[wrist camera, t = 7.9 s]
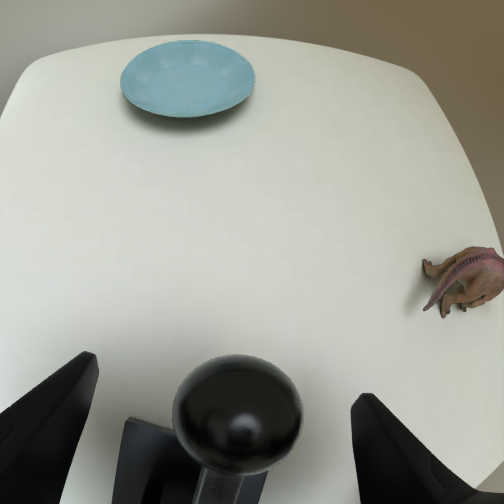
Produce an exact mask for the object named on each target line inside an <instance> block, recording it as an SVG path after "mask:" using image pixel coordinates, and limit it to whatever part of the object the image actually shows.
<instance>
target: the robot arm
mask: <svg viewBox="0 0 504 504" xmlns="http://www.w3.org/2000/svg"><path fill="white" fill-rule="evenodd" d="M98 375H99V368H98V363H97V357H96V355H95V354H93V353H90V352H87V351H84V352H82V353H80V354H79V355H78V356H76V357H75V358H74V359H72V360H71V361H69V362H68V363H67V364H65V365H64V366H63V367H61V368H60V369H59V370H57V371H56V372H55V373H53V374H52V375H51V376H49V377H48V378H47V379H45V380H44V381H43V382H41V383H40V384H39V385H37V386H36V387H35V388H33V389H32V390H31V391H29V392H28V393H27V394H25V395H24V396H23V397H21V398H20V399H19V400H17V401H16V402H15V403H13V404H12V405H11V407H8V408H7V409H5V410H4V411H3V412H1V413H0V504H59V503H60V499H61V496H62V492H63V489H64V485H65V482H66V479H67V475H68V472H69V469H70V466H71V463H72V460H73V457H74V454H75V451H76V448H77V445H78V442H79V439H80V436H81V434H82V431H83V428H84V425H85V423H86V420H87V417H88V414H89V410H90V406H91V402H92V398H93V394H94V391H95V387H96V383H97V379H98ZM351 428H352V445H353V453H354V459H355V466H356V472H357V479H358V486H359V494H360V502H361V504H504V493H492V492H482V491H478V490H476V489H474V488H472V487H471V486H469V485H468V484H467V483H466V482H464V481H463V480H462V479H461V478H459V477H458V476H457V475H456V474H454V473H453V472H452V471H451V470H450V469H448V468H447V467H446V466H445V465H444V464H443V463H442V462H441V461H440V460H439V459H438V458H437V457H436V456H435V455H434V454H432V453H431V452H430V451H429V450H428V449H427V448H426V447H425V446H424V445H423V444H422V443H421V442H420V441H419V440H418V439H417V438H416V437H415V436H414V435H413V434H412V433H411V432H410V431H409V430H408V429H407V428H406V426H405V425H404V424H403V423H402V422H401V421H400V420H399V419H398V418H397V417H396V416H395V415H394V414H393V413H392V412H391V411H390V410H389V409H388V408H387V407H386V406H385V405H384V404H383V403H382V402H381V401H380V400H379V399H378V398H377V397H376V396H375V395H374V394H372V393H362V394H361V395H360V396H359V397H358V399H357V400H356V401H355V403H354V404H353V405H352V407H351Z"/></svg>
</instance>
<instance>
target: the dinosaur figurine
mask: <svg viewBox="0 0 504 504" xmlns="http://www.w3.org/2000/svg"><path fill="white" fill-rule="evenodd" d="M423 262H424V266H425V272H426V274H427V275H429V276H430V277H438V276H439V275H441V274H443V273H444V272H446V273H445V275H444V276H443V277H442V278H441V280H440V282H439V284H438V285H437V287H436V289H435V291H434V293H433V294H432V296H431V298H430V300H429V302H428V304H427V305H426V306H425V307H424V308H423V311H426V310H428V309H429V308H430V307H432V306H433V305H434V304H435V303H436V302H437V301H438V300H439V298H440V297H441V296H442V295H443V293H444V292H445V290H447V289H448V288H449V287H450V286H451V285H452V284H453V283H454V282H455V281H457V282H458V283H459V284H460V285H461V287H459V288H457V289H456V290H455V291H453V292H450V293H445V294H444V299H443V301H442V305H441V307H442V317H443V318H445V317H446V313H447V314H449V313H450V305H451V304H453V303H462V305H461V310H463V311H464V312H466V308H467V307H469V308H475V307H477V306H480V305H483V304H485V303H486V301H490V300H492V299H493V298H494V297H496V296H497V295H499V294H500V292H501V291H502V290H503V289H504V259H503V258H502V257H500V256H499V255H498V254H497V253H496V251H495V250H494V248H485V247H474V246H473V247H469V248H466V249H464V250H463V251H461V252H460V253H457V254H455V255H454V256H453V257H450V258H448V259H446V260H445V261H444V263H443V264H441V265H438V266H434V267H433V266H432V263H431V261H428V262H427V260H426V259H423Z"/></svg>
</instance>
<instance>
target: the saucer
mask: <svg viewBox="0 0 504 504" xmlns="http://www.w3.org/2000/svg"><path fill="white" fill-rule="evenodd" d="M120 82H121V83H120V84H121V89H122V92H123V94H124V95H125V97H126V98H127V99H128V100H129V101H130V102H131V103H132V104H134V105H136V106H137V107H139V108H141V109H143V110H146V111H148V112H151V113H155V114H158V115H163V116H168V117H179V118H190V117H200V116H206V115H210V114H214V113H218V112H221V111H224V110H227V109H229V108H231V107H233V106H235V105H237V104H239V103H240V102H242V101H243V100H244V99H245V98H246V97H247V96H248V95H249V94H250V93H251V91H252V90H253V88H254V84H255V73H254V70H253V68H252V66H251V65H250V63H249V62H248V61H247V60H246V59H245V58H244V57H243V56H242V55H240V54H239V53H237V52H236V51H234V50H233V49H230V48H228V47H225V46H223V45H220V44H216V43H212V42H207V41H198V40H183V41H182V40H181V41H173V42H168V43H164V44H160V45H157V46H154V47H152V48H149V49H147V50H145V51H144V52H142V53H140V54H139V55H137V56H136V57H135V58H134V59H132V60H131V61H130V62H129V63H128V65H127V66H126V67H125V69H124V70H123V72H122V75H121V81H120Z"/></svg>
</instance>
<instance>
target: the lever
mask: <svg viewBox="0 0 504 504" xmlns="http://www.w3.org/2000/svg"><path fill="white" fill-rule="evenodd" d="M303 421H304V412H303V404H302V400H301V397H300V395H299V392H298V390H297V389H296V387H295V385H294V383H293V382H292V381H291V379H290V378H289V377H288V376H287V375H286V374H285V373H284V372H283V371H282V370H280V369H279V368H278V367H277V366H275V365H273V364H272V363H270V362H268V361H266V360H263V359H261V358H257V357H254V356H248V355H237V354H235V355H225V356H220V357H217V358H214V359H211V360H209V361H206V362H204V363H203V364H201V365H199V366H198V367H196V368H195V369H194V370H193V371H192V372H190V373H189V375H188V376H187V377H186V378H185V379H184V380H183V382H182V383H181V385H180V386H179V388H178V390H177V392H176V395H175V398H174V402H173V408H172V422H173V428H174V431H175V434H176V437H177V439H178V441H179V443H180V445H181V446H182V448H183V449H184V451H185V452H186V453H187V454H188V455H189V456H190V457H191V458H192V459H193V460H194V461H195V462H197V463H198V464H200V465H201V466H202V468H201V472H200V476H199V480H198V483H197V487H196V491H195V495H194V498H193V502H192V504H235V502H236V499H237V496H238V493H239V490H240V487H241V484H242V481H243V478H244V476H250V475H255V474H259V473H262V472H265V471H267V470H269V469H271V468H273V467H275V466H276V465H278V464H279V463H280V462H282V461H283V460H284V459H285V458H286V457H287V456H288V455H289V454H290V453H291V451H292V450H293V449H294V447H295V445H296V444H297V442H298V440H299V438H300V435H301V432H302V428H303Z"/></svg>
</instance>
